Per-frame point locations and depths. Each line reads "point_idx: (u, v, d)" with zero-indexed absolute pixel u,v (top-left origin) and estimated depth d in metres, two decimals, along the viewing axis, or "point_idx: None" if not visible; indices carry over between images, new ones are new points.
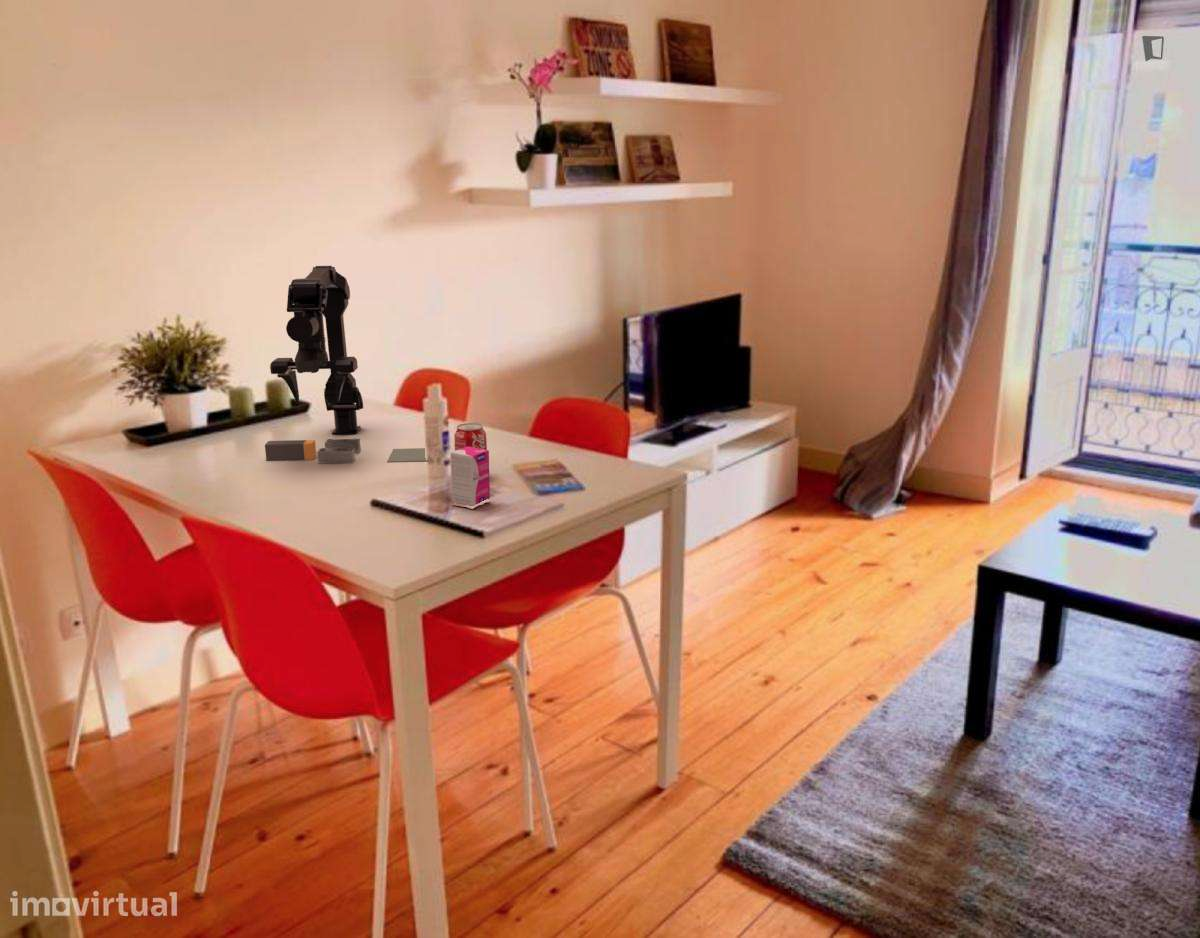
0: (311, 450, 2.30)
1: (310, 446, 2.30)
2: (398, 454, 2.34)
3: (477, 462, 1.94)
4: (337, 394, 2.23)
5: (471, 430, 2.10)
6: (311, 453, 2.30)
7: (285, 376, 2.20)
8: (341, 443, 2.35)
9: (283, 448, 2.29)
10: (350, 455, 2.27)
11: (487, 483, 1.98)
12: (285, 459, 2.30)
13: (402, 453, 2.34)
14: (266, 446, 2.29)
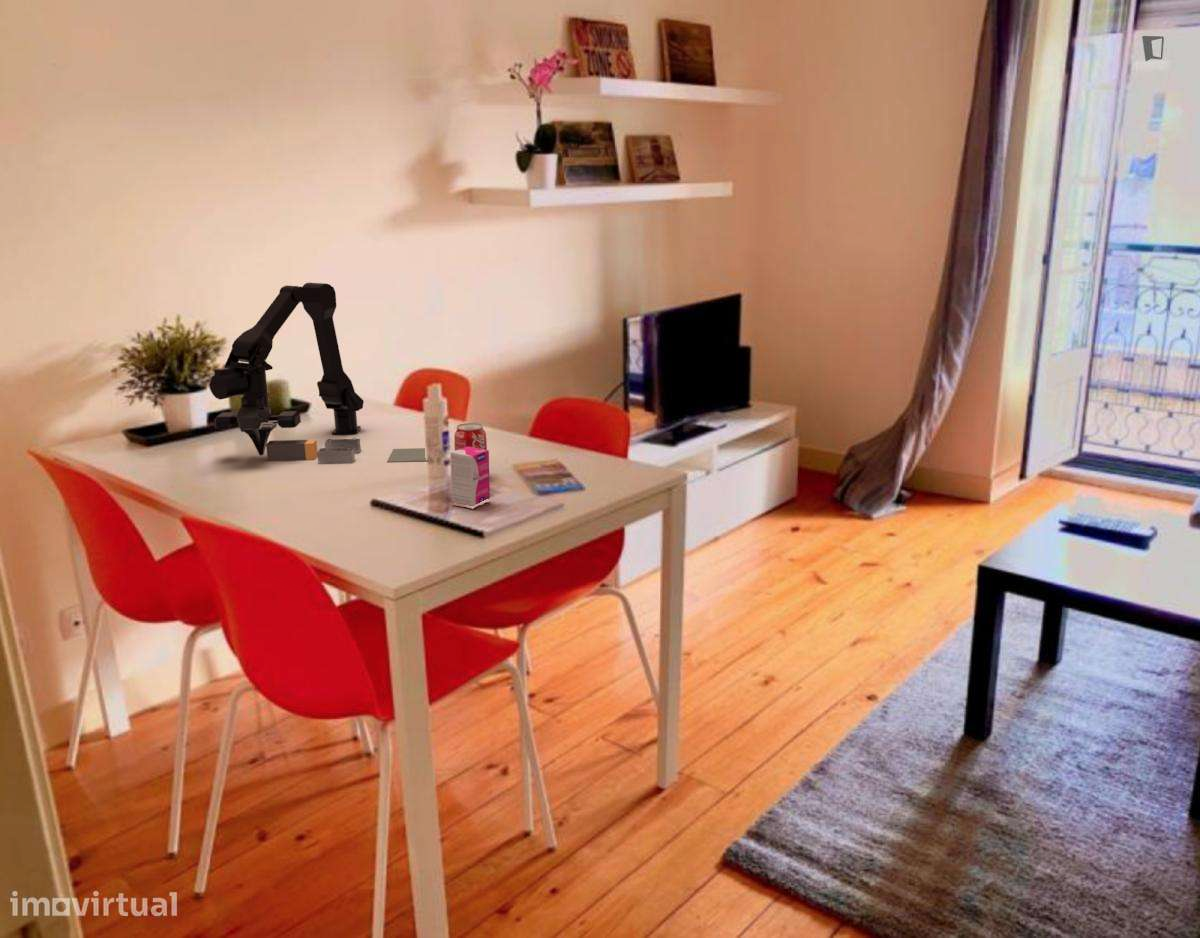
0: (312, 450, 2.30)
1: (311, 446, 2.30)
2: (398, 454, 2.34)
3: (477, 462, 1.94)
4: (261, 448, 2.30)
5: (471, 430, 2.10)
6: (312, 453, 2.30)
7: (248, 430, 2.27)
8: (341, 443, 2.35)
9: (285, 448, 2.29)
10: (350, 455, 2.27)
11: (487, 483, 1.98)
12: (286, 459, 2.30)
13: (402, 453, 2.34)
14: (267, 446, 2.29)
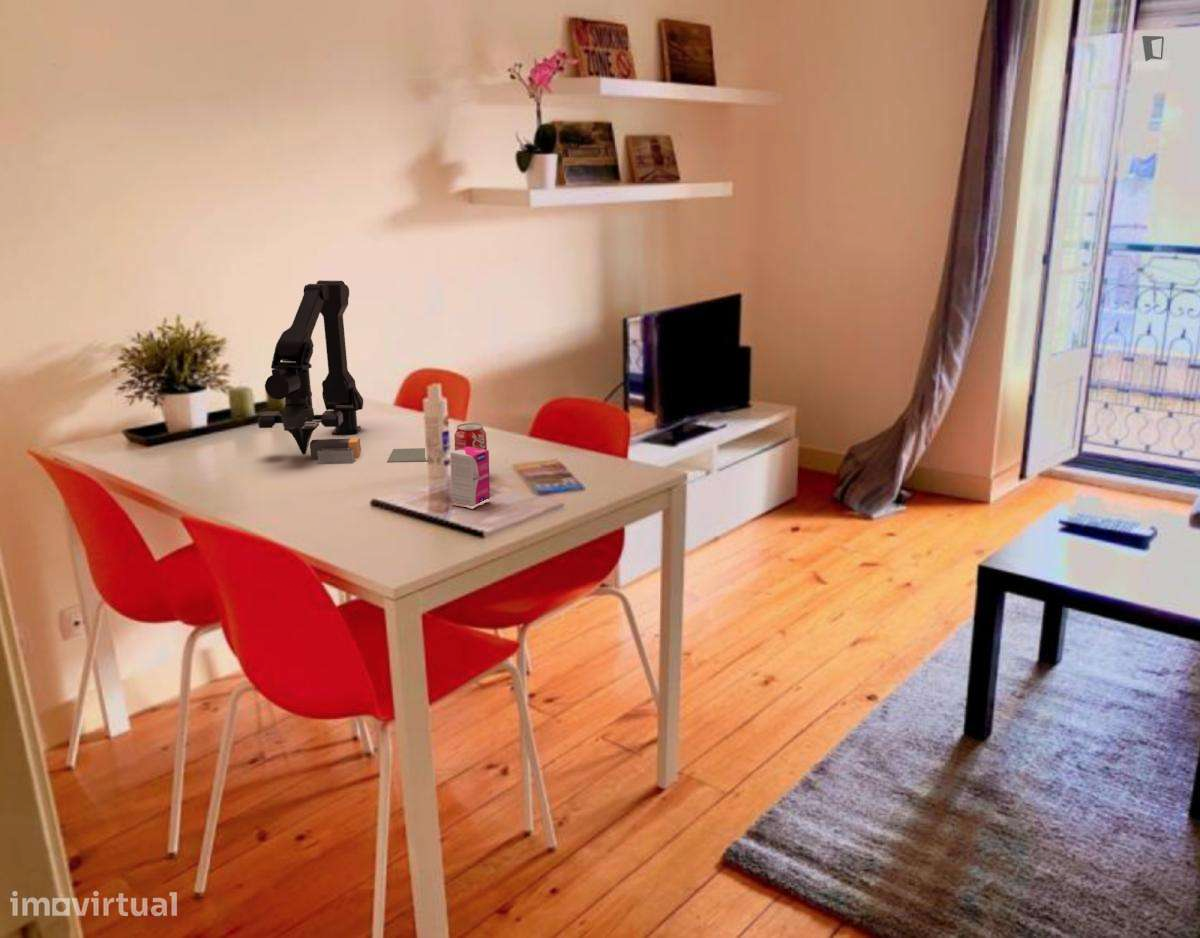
0: (356, 448, 2.31)
1: (355, 444, 2.31)
2: (398, 454, 2.34)
3: (477, 462, 1.94)
4: (304, 447, 2.31)
5: (471, 430, 2.10)
6: (356, 451, 2.31)
7: (291, 430, 2.27)
8: None
9: (328, 446, 2.30)
10: (350, 455, 2.27)
11: (487, 483, 1.98)
12: None
13: (402, 453, 2.34)
14: (311, 445, 2.30)
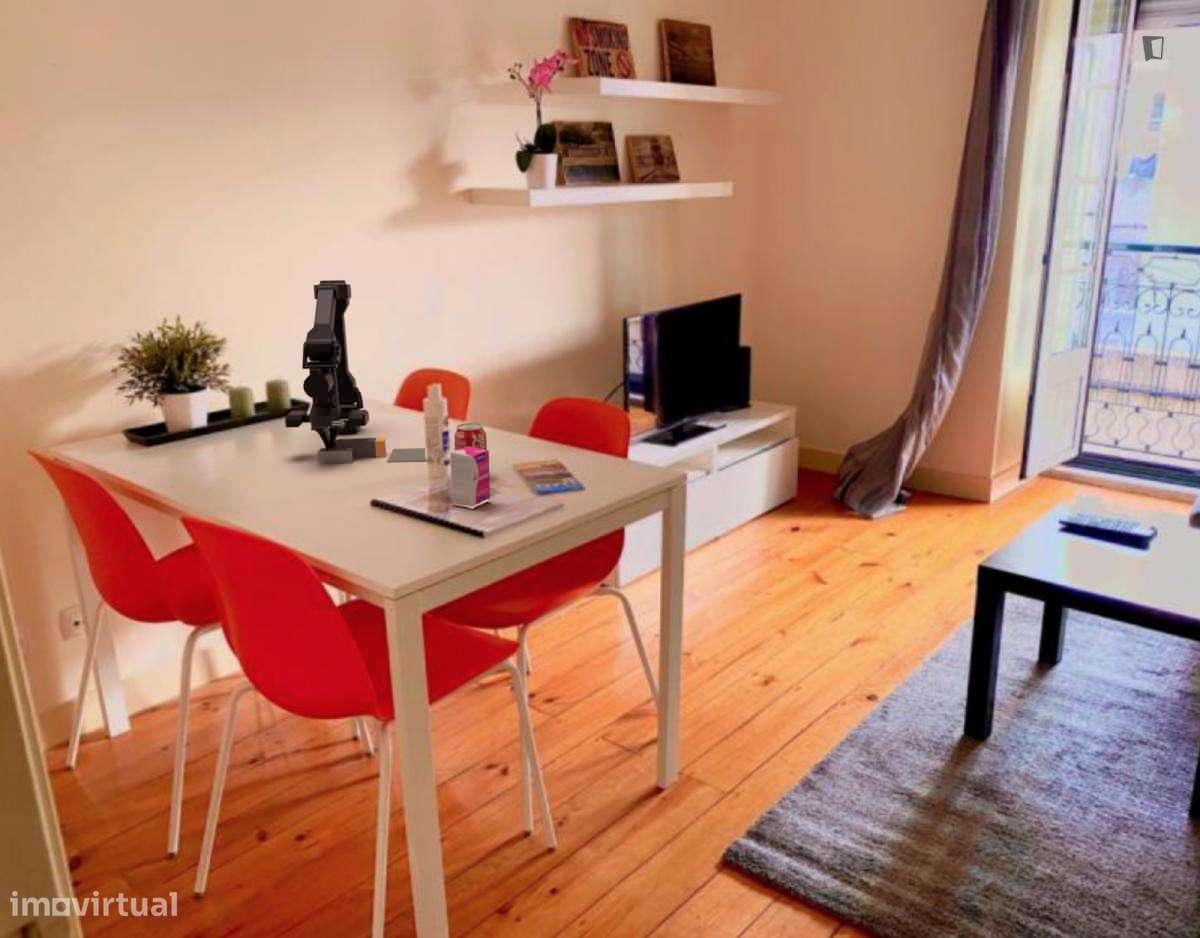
0: (383, 447, 2.32)
1: (382, 443, 2.31)
2: (398, 454, 2.34)
3: (477, 462, 1.94)
4: (331, 446, 2.31)
5: (471, 430, 2.10)
6: (383, 450, 2.32)
7: (318, 429, 2.27)
8: None
9: (355, 446, 2.31)
10: (350, 455, 2.27)
11: (487, 483, 1.98)
12: (357, 457, 2.31)
13: (402, 453, 2.34)
14: (338, 444, 2.30)
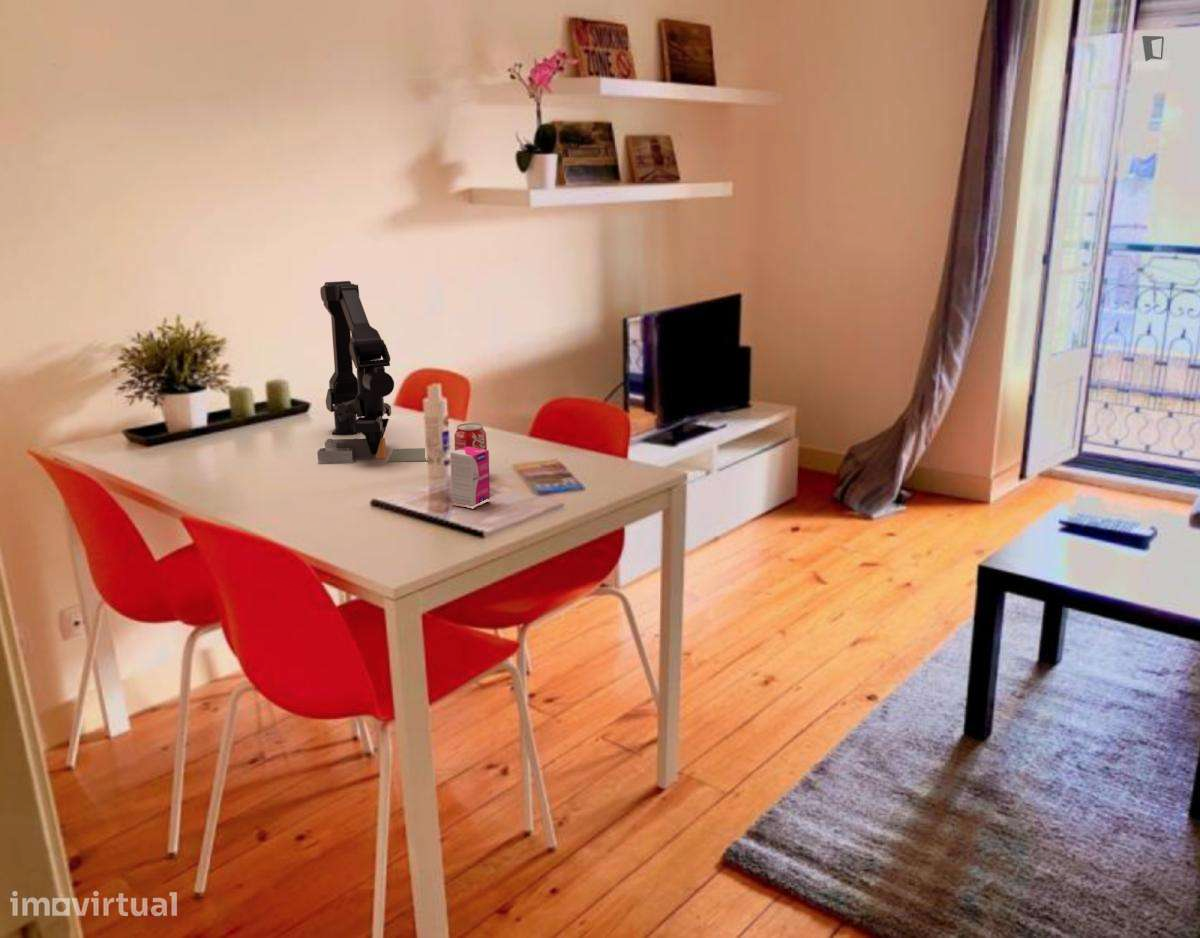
0: (382, 448, 2.31)
1: (381, 444, 2.31)
2: (398, 454, 2.34)
3: (477, 461, 1.94)
4: None
5: (471, 430, 2.10)
6: (382, 451, 2.31)
7: None
8: None
9: (355, 446, 2.30)
10: (350, 455, 2.27)
11: (487, 483, 1.98)
12: (356, 457, 2.31)
13: (402, 453, 2.34)
14: (338, 444, 2.30)
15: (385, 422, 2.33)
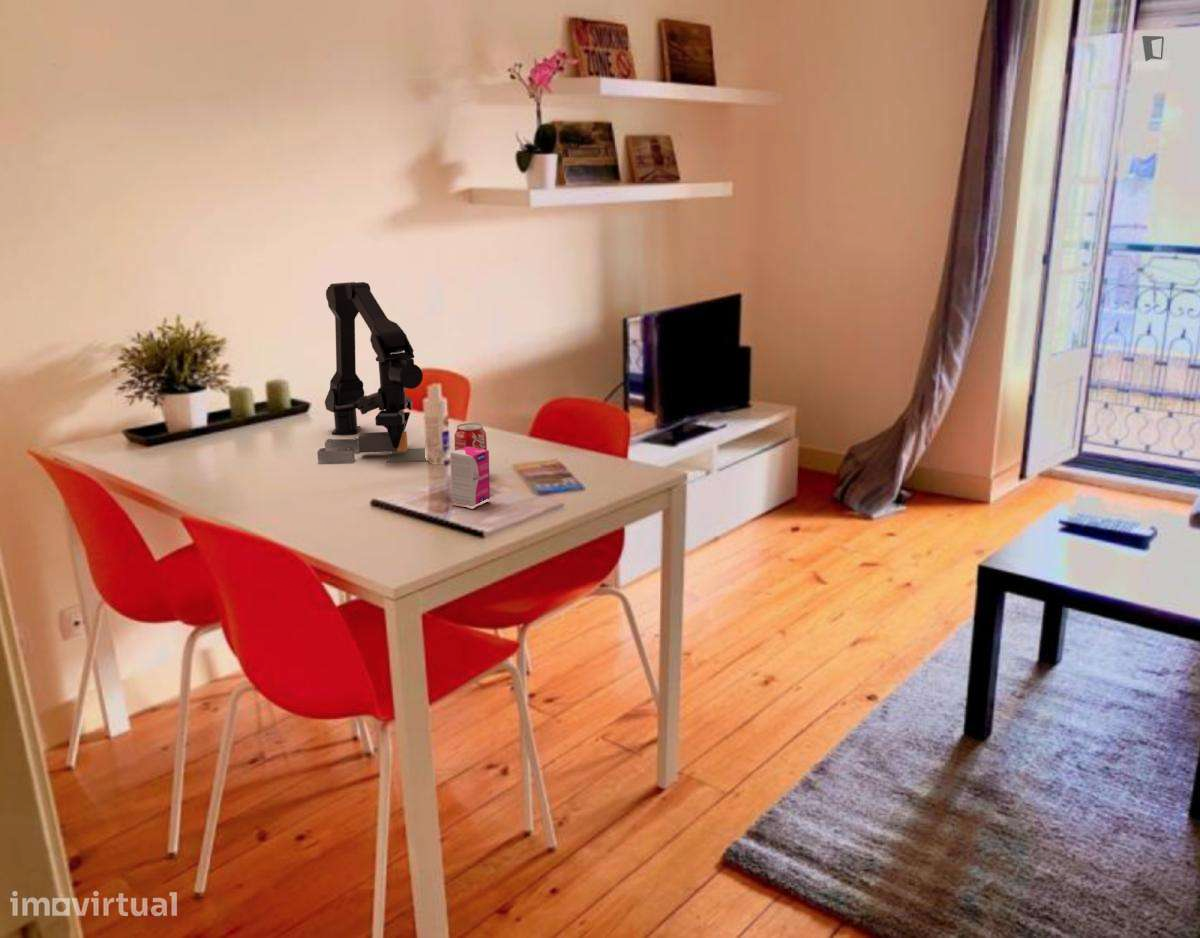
0: (404, 441, 2.31)
1: (403, 437, 2.30)
2: (398, 454, 2.34)
3: (477, 462, 1.94)
4: None
5: (471, 430, 2.10)
6: (404, 444, 2.31)
7: None
8: (341, 443, 2.35)
9: (376, 440, 2.30)
10: (350, 455, 2.27)
11: (487, 483, 1.98)
12: (378, 451, 2.31)
13: (402, 453, 2.34)
14: (359, 438, 2.30)
15: (407, 415, 2.33)
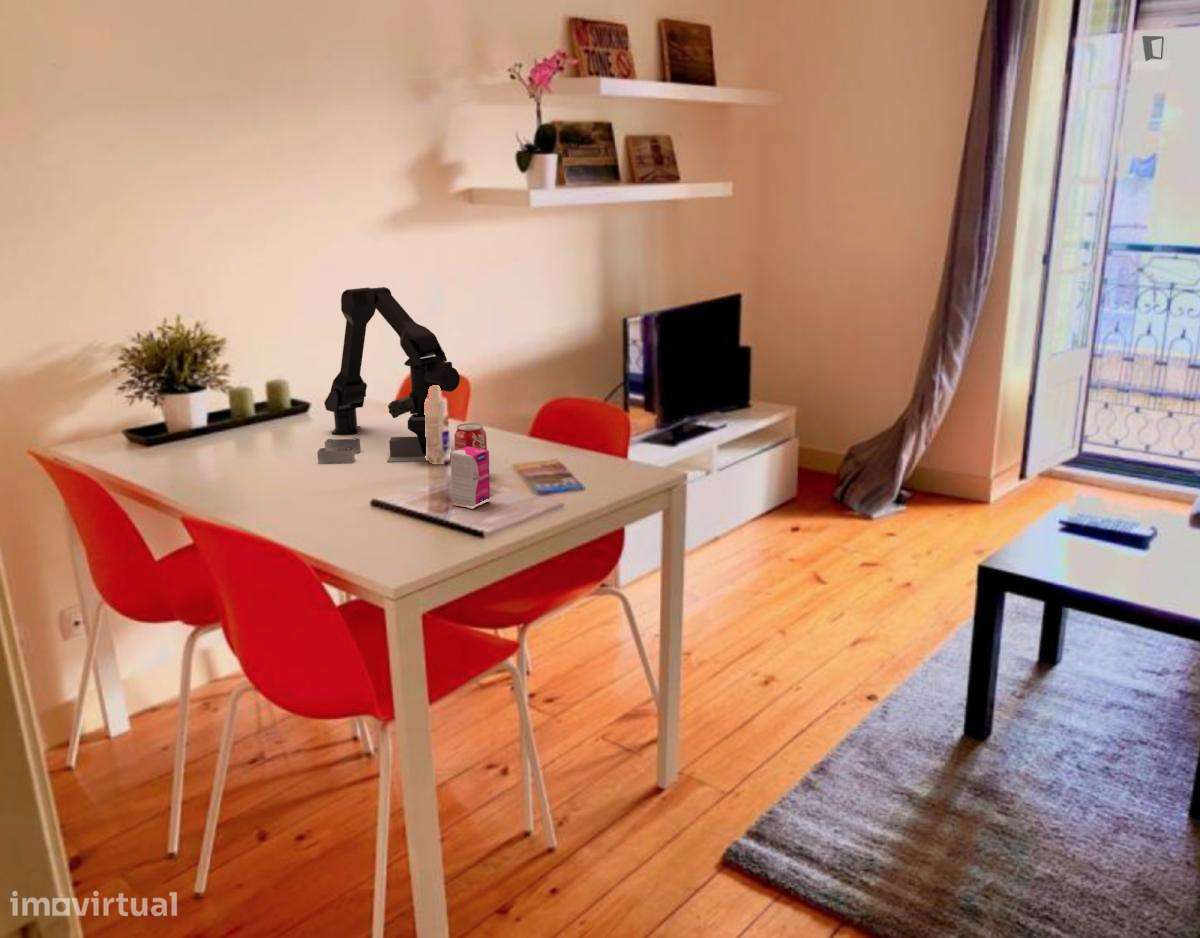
0: None
1: None
2: None
3: (477, 462, 1.94)
4: (421, 447, 2.28)
5: (471, 430, 2.10)
6: None
7: None
8: (341, 443, 2.35)
9: (407, 444, 2.31)
10: (350, 455, 2.27)
11: (487, 483, 1.98)
12: (409, 455, 2.32)
13: None
14: (390, 442, 2.30)
15: None
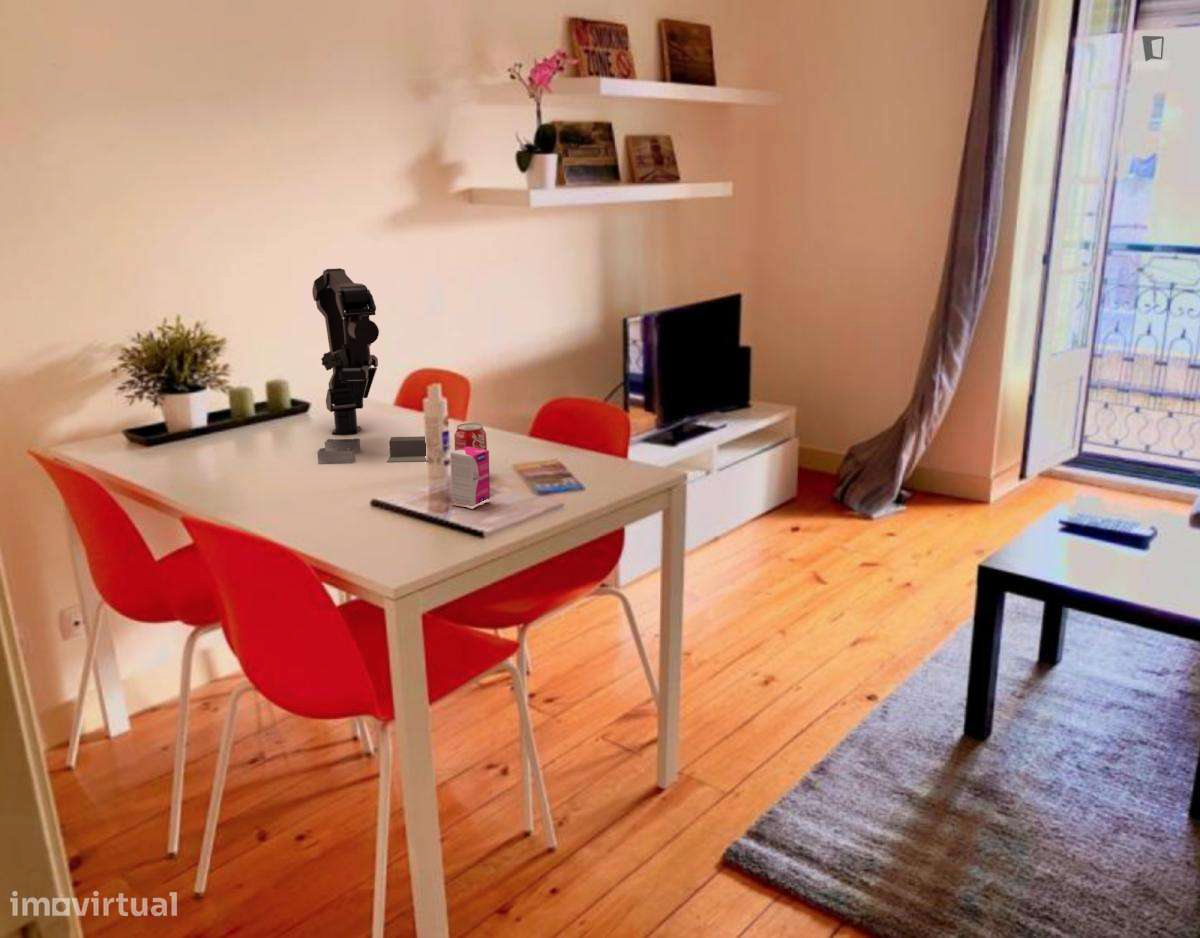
0: None
1: None
2: None
3: (477, 462, 1.94)
4: (354, 399, 2.30)
5: (471, 430, 2.10)
6: None
7: None
8: (341, 443, 2.35)
9: (407, 444, 2.31)
10: (350, 455, 2.27)
11: (487, 483, 1.98)
12: (409, 455, 2.32)
13: None
14: (390, 442, 2.30)
15: (373, 370, 2.39)
